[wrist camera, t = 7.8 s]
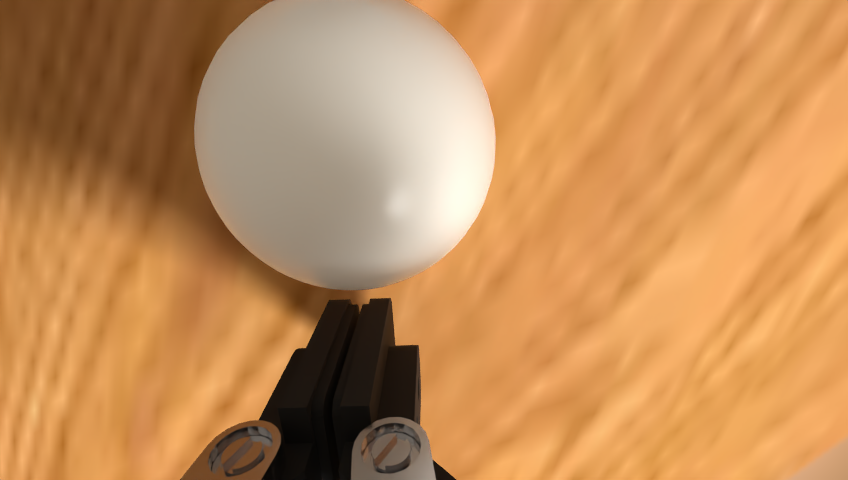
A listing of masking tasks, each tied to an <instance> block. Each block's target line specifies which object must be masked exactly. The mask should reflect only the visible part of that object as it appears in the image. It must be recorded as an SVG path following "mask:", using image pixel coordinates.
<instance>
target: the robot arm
mask: <svg viewBox="0 0 848 480" xmlns="http://www.w3.org/2000/svg"><path fill="white" fill-rule="evenodd" d="M420 409H421V379H420V358H419V346H418V345H403V346H395V337H394V324H393V312H392V302H391V298H381V299H370V302H369V304H363V305H362V308H361V312H360V314H359V307H358V305H357V304H356V305H352V303H351V300H329V302H328V303H327V305H326V308H325V310H324V312H323V314H322V316H321V318H320V320H319V322H318V324H317V326H316V328H315V331H314V333H313V335H312V337H311V339H310V341H309V343H308V345H307V347H306V348H299V349H296V350H295V352H294V353H293V355H292V357H291V359H290V361H289V363H288V365H287V366H286V368H285V370H284V372H283V374H282V376H281V378H280V380H279V382H278V384H277V386H276V388H275V390H274V392H273V393H272V395H271V397H270V399H269V401H268V403H267V405H266V407H265V409H264V411H263V413H262V415H261V417H260V419H259V420H254V421H247V422H243V423H239V424H237V425H235V426H233V427H231V428H228V429H227V430H225V431H224V432H222V433H221V434H219V435H218V436H216V437H215V438H214V439H213V440H212V441H211V442H210V443H209V444H208V445H207V447H206V448H205V449H204V450H203V452H202V453H201V454H200V455H199V457H198V458H197V459H196V460H195V462H194V463H193V464H192V465H191V467H190V468H189V469H188V470H187V472H186V473H185V474H184V475H183V477H182V478H181V479H180V480H456V479H455V478H454V477H453V476H451V475H450V474H449V473H448V472H447V471H445V470H444V469H443V468H442V467H441V466H440V465H438V464H437V463H436V462H435V461H434V460H432V455H431V450H430V444H429V440H428V437H427V435H426V432H425V431H424V430H423V429H422V427H421V426H420Z"/></svg>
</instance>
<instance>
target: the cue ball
mask: <svg viewBox="0 0 848 480" xmlns="http://www.w3.org/2000/svg"><path fill="white" fill-rule="evenodd" d="M495 138H496V137H495V127H494V118H493V114H492V110H491V106H490V102H489V99H488V95H487V92H486V89H485V87H484V85H483V82H482V80H481V77H480V75H479V73H478V71H477V70H476V68H475V66H474V64H473V63H472V61H471V59H470V57H469V56H468V55H467V53H466V52H465V51H464V50H463V48H462V47H461V46H460V44H459V43H458V42H457V41H456V39H455V38H454V37H453V36H452V35H451V34H450V33H449V32H448V31H447V30H446V29H445V28H444V27H443V26H442V25H441V24H440V23H439V22H437V21H436V20H435V19H433V18H432V17H431V16H429V15H428V14H427V13H425V12H424V11H422V10H421V9H419V8H418V7H416V6H414V5H412V4H410V3H408V2H406V1H405V0H274V1H272V2H269V3H267V4H266V5H264V6H263V7H261V8H260V9H258V10H257V11H255V12H254V13H252V14H251V15H250V16H249V17H248V18H246V19H245V20H244V21H243V22H242V23H241V24H240V25H239V26H238V27H237V28H236V29H235V30H234V31H233V32H232V33H231V34H230V35H229V36H228V37H227V38H226V40H225V41H224V42H223V44H222V45H221V47H220V48H219V49H218V51H217V52H216V54H215V56H214V58H213V60H212V62H211V64H210V66H209V68H208V70H207V72H206V74H205V76H204V79H203V82H202V85H201V88H200V92H199V95H198V99H197V107H196V114H195V124H194V140H195V150H196V156H197V162H198V167H199V171H200V175H201V178H202V181H203V184H204V187H205V190H206V192H207V194H208V196H209V198H210V200H211V202H212V204H213V206H214V208H215V210H216V212H217V213H218V215H219V216H220V218H221V219H222V221H223V223H224V224H225V226H226V227H227V228H228V229H229V231H230V232H231V233H232V234H233V235H234V237H235V238H236V239H237V240H238V241H239V242H240V243H241V244H242V245H243V246H244V247H245V248H246V249H247V250H249V251H250V252H251V253H252V254H253V255H255V256H256V257H257V258H259V259H260V260H261V261H262V262H264V263H265V264H267V265H268V266H270V267H272V268H273V269H275V270H276V271H278V272H280V273H282V274H284V275H286V276H288V277H291V278H293V279H296V280H298V281H301V282H304V283H307V284H311V285H314V286H318V287H323V288H329V289H338V290H365V289H373V288H379V287H384V286H388V285H391V284H395V283H398V282H401V281H403V280H406V279H408V278H411V277H413V276H415V275H417V274H419V273H421V272H423V271H425V270H426V269H428V268H429V267H431V266H432V265H434V264H435V263H437V262H438V261H439V260H440V259H442V258H443V257H444V256H445V255H446V254H447V253H449V252H450V251H451V250H452V249H453V248H454V247H455V246H456V245H457V244H458V243H459V241H460V240H461V239H462V238H463V237H464V236H465V234H466V233H467V231H468V230H469V228H470V227H471V225H472V224H473V222H474V221H475V219H476V218H477V216H478V214H479V212H480V210H481V208H482V206H483V204H484V201H485V198H486V195H487V192H488V189H489V186H490V183H491V180H492V174H493V169H494V163H495Z"/></svg>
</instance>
